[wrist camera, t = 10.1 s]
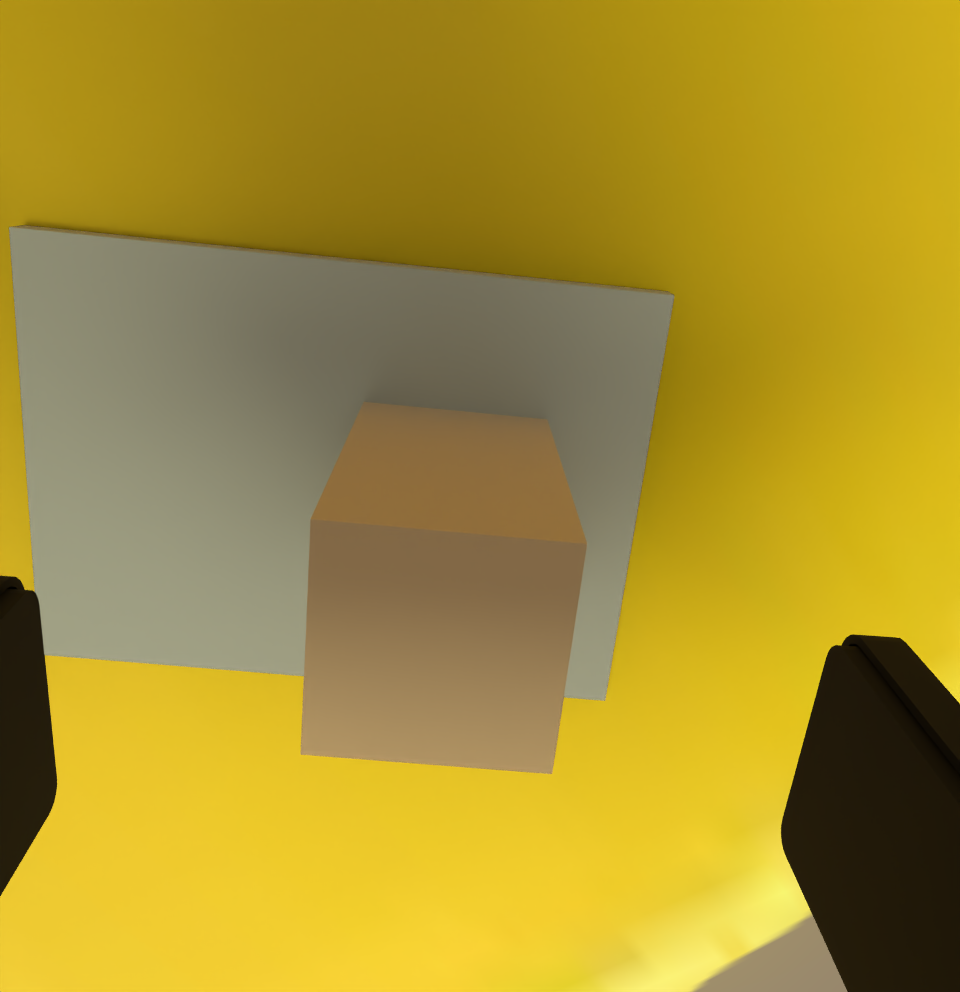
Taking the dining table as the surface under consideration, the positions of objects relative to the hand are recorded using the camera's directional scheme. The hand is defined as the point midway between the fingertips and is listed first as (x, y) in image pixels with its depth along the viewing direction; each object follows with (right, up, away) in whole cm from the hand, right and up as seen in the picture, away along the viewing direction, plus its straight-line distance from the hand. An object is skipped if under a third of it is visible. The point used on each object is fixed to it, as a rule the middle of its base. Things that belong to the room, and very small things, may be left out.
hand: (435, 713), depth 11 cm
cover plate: (-3, +3, +10) cm, 11 cm away
